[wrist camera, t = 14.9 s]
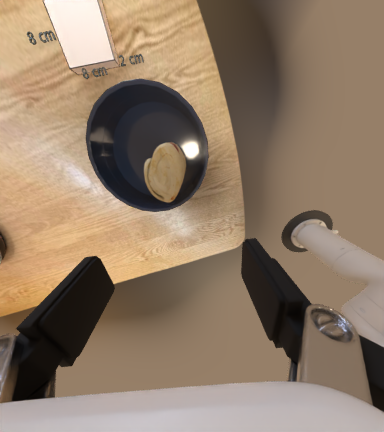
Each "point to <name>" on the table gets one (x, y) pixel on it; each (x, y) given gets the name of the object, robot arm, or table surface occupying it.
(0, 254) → the frying pan
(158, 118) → the pot
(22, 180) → the table surface
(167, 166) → the food model
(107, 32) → the container
